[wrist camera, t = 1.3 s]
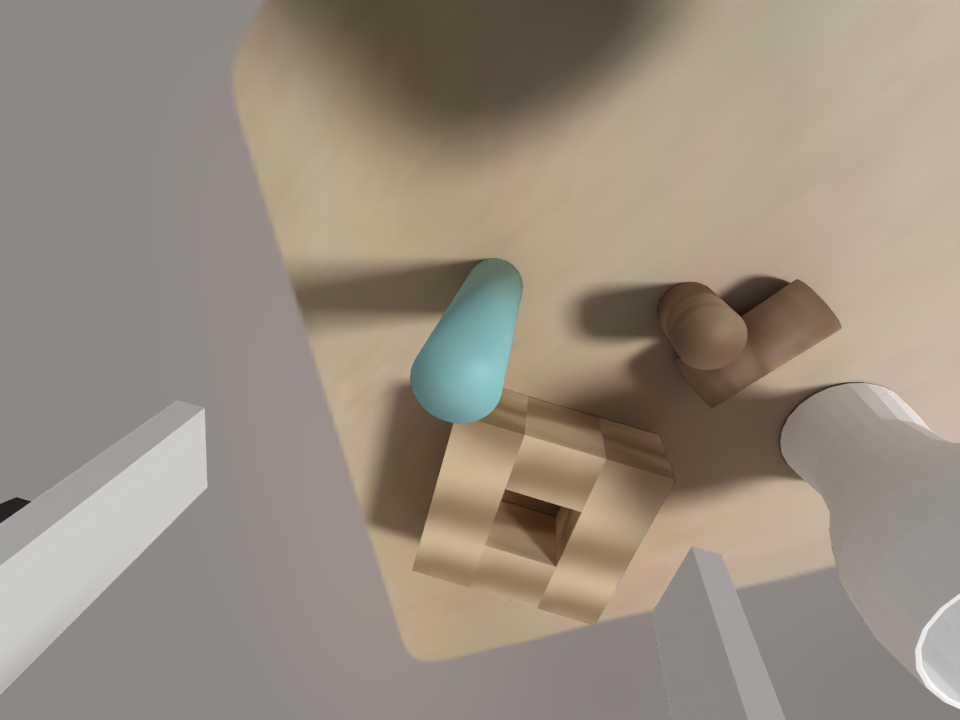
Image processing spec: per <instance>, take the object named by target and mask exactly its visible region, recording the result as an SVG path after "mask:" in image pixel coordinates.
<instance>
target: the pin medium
mask: <svg viewBox="0 0 960 720" xmlns="http://www.w3.org/2000/svg"><path fill="white" fill-rule="evenodd" d="M741 318H742V319H743V321H744V322H745V324H746V327H747V342H746V345H745V347H744V349H743V351H742V352H741V354H740V355H739V356H738V357H737V358H736V359H735V360H734V361H732V362H731V363H729V364H728V365H726V366H724V367H721V368H718V369H714V370H700V369H696V368H693V367H691V366H689V365H687V364H686V363H685V362H683V361H682V359H681V358H679V359H677V360H676V361H675V363H676V364H677V366H678V368H679V369H680V371H681V372H682V374H683V375H684V376H685V378H686V379H687V380H688V382H689V383H690V384H691V386H692V387H693V388H694V389H695V391H696V392H697V393H698V394H699V396H700V397H701V398H702V399H703V400H704V401H705V403H706V404H707V405H708V406H709V407H711V408H713V407H714V406H716V405H718V404H719V403H721V402H723V401H724V400H726V399H727V398H729V397H731V396H732V395H734V394H736V393H737V392H739V391H740V390H742V389H744V388H745V387H747V386H749V385H750V384H752V383H754V382H755V381H757V380H758V379H760V378H762V377H763V376H765V375H767V374H768V373H770V372H771V371H773V370H775V369H776V368H778V367H780V366H781V365H783V364H785V363H786V362H788V361H789V360H791V359H793V358H794V357H796V356H798V355H799V354H801V353H802V352H804V351H806V350H807V349H809V348H811V347H812V346H814V345H815V344H817V343H819V342H820V341H822V340H824V339H825V338H827V337H829V336H830V335H832V334H833V333H835V332H837V331H838V330H840V329H841V328H842V327H841V324H840V322H839V320H838V319H837V317H836V316H835V314H834V313H833V312H832V310H831V309H830V308H829V307H828V305H827V304H826V303H825V302H824V301H823V300H822V299H821V298H820V297H819V296H818V295H817V294H816V293H815V292H814V291H813V290H812V289H811V288H810V287H809V286H807V285H806V284H805V283H803V282H802V281H800V280H798V279H796V280H794V281H793V282H792V283H790V284H789V285H787V286H786V287H784V288H783V289H781V290H780V291H778V292H777V293H775V294H774V295H772V296H771V297H769V298H768V299H766V300H765V301H763V302H762V303H760V304H759V305H757V306H756V307H754V308H753V309H751V310H750V311H749V312H747V313H746V314H744V315H743V316H741Z"/></svg>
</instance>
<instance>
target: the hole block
mask: <svg viewBox="0 0 960 720" xmlns="http://www.w3.org/2000/svg"><path fill="white" fill-rule="evenodd" d="M675 480H676V479H675V477H674V474H673V471H672V468H671V466H670V463H669V460H668V458H667V455H666V452H665V450H664V447H663V444H662V441H661V439H660V436H659V435H657V434H653V433H650V432H646V431H643V430H640V429H636V428H633V427H630V426H626V425H623V424H620V423H616V422H613V421H609V420H606V419H603V418H599V417H596V416H593V415H589V414H586V413H583V412H579V411H576V410H572V409H569V408H566V407H562V406H559V405H556V404H552V403H549V402H546V401H542V400H539V399H535V398H532V397H529V396H525V395H522V394H519V393H515V392H512V391H509V390H505V389H503V390H502V394H501V397H500V400H499V402H498V404H497V406H496V407H495V408H494V409H493V411H491V412H490V413H489V414H488V415H487V416H485V417H484V418H482V419H480V420H477V421H474V422H470V423H453V427H452V430H451V434H450V437H449V441H448V444H447V448H446V452H445V455H444V459H443V462H442V466H441V469H440V473H439V477H438V480H437V484H436V487H435V491H434V494H433V498H432V502H431V505H430V509H429V512H428V516H427V519H426V523H425V527H424V530H423V534H422V537H421V541H420V544H419V548H418V552H417V555H416V559H415V562H414V566H413V569H412V570H413V571H416V572H420V573H423V574H426V575H430V576H433V577H436V578H439V579H443V580H446V581H449V582H453V583H456V584H459V585H462V586H466V587H469V588H472V589H476V590H479V591H482V592H485V593H489V594H492V595H495V596H499V597H502V598H505V599H509V600H512V601H515V602H518V603H522V604H525V605H528V606H532V607H535V608H538V609H541V610H545V611H548V612H551V613H555V614H558V615H561V616H564V617H568V618H571V619H574V620H578V621H581V622H584V623H588V624H591V625H594V626H595V625H596V623H597V621H598V619H599V617H600V616H601V614H602V612H603V610H604V608H605V607H606V605H607V603H608V601H609V599H610V598H611V596H612V594H613V592H614V590H615V589H616V587H617V585H618V583H619V581H620V580H621V578H622V576H623V574H624V572H625V571H626V569H627V567H628V565H629V563H630V562H631V560H632V558H633V556H634V554H635V553H636V551H637V549H638V547H639V545H640V543H641V542H642V540H643V538H644V536H645V534H646V533H647V531H648V529H649V527H650V525H651V524H652V522H653V520H654V518H655V516H656V515H657V513H658V511H659V509H660V507H661V506H662V504H663V502H664V500H665V498H666V497H667V495H668V493H669V491H670V489H671V488H672V486H673V484H674V482H675ZM505 489H506V490H510V491H513V492H516V493H520V494H523V495H526V496H530V497H533V498H536V499H540V500H543V501H546V502H550V503H553V504H556V505H560V508H559V511H558V513H557V515H556V517H554V516H551V515H548V514H544V513H541V512H538V511H534V510H531V509H528V508H524V507H521V506H518V505H514V504H511V503H508V502H504V501H501V499H502V496H503V493H504V491H505Z"/></svg>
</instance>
